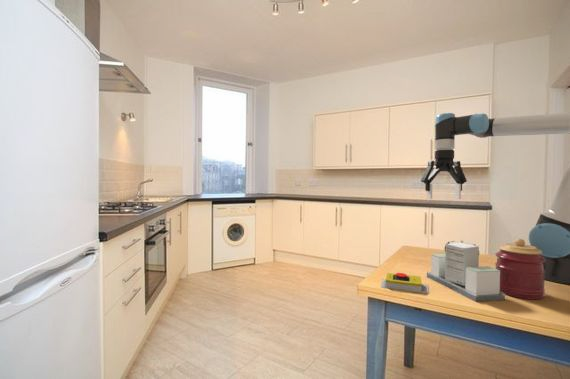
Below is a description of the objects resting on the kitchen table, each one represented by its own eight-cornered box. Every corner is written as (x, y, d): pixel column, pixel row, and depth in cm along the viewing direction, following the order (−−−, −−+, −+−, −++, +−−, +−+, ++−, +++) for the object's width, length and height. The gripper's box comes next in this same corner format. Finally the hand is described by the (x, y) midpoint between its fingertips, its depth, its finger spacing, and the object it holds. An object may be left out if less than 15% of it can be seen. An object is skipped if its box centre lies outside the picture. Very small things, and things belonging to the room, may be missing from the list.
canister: (496, 283, 108) (497, 233, 107) (544, 291, 100) (545, 238, 99) (492, 293, 98) (493, 239, 97) (545, 303, 90) (547, 244, 89)
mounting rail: (426, 276, 115) (426, 271, 115) (450, 275, 116) (450, 270, 116) (475, 301, 91) (475, 295, 91) (504, 299, 92) (505, 293, 92)
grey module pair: (430, 273, 114) (431, 254, 114) (450, 272, 115) (450, 253, 115) (476, 295, 92) (476, 271, 92) (499, 294, 93) (500, 270, 93)
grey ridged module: (458, 277, 108) (459, 241, 108) (479, 283, 102) (479, 246, 101) (443, 279, 105) (444, 243, 105) (464, 286, 99) (464, 247, 98)
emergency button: (382, 268, 111) (427, 273, 106) (382, 280, 111) (427, 286, 106) (380, 276, 103) (429, 281, 97) (380, 288, 103) (429, 295, 97)
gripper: (463, 151, 137) (462, 198, 138) (413, 150, 134) (412, 198, 134) (476, 149, 130) (475, 199, 130) (423, 148, 126) (422, 199, 127)
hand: (443, 198), depth 132 cm, fingers open, 13 cm apart
